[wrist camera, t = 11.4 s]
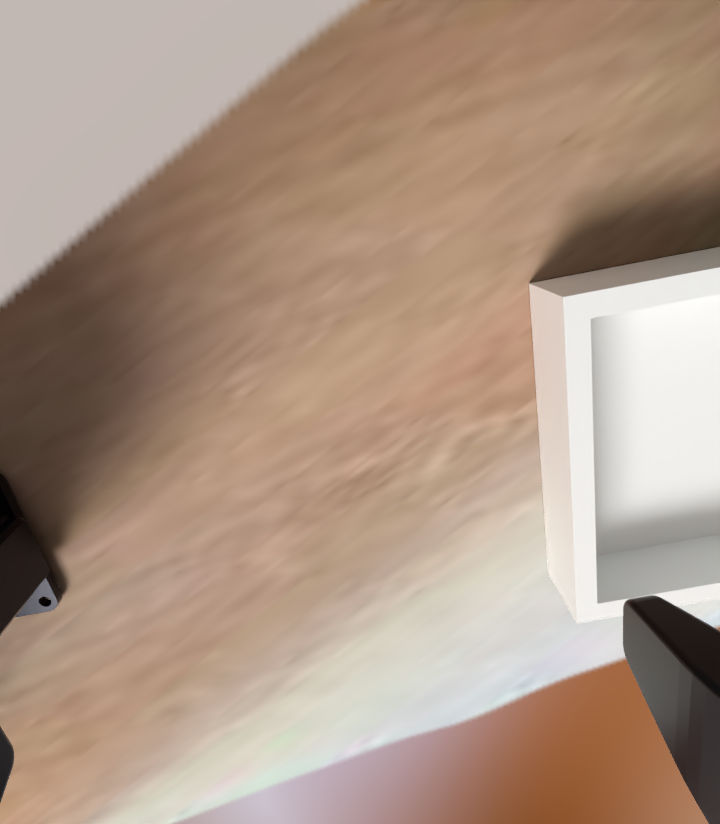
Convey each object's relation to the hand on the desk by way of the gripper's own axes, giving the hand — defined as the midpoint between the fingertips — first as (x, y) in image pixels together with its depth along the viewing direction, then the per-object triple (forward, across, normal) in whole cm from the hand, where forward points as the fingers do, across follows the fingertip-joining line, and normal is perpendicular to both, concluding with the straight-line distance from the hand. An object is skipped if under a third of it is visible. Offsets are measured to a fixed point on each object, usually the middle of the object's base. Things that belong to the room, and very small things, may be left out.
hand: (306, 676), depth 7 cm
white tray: (+13, -14, +4) cm, 20 cm away
